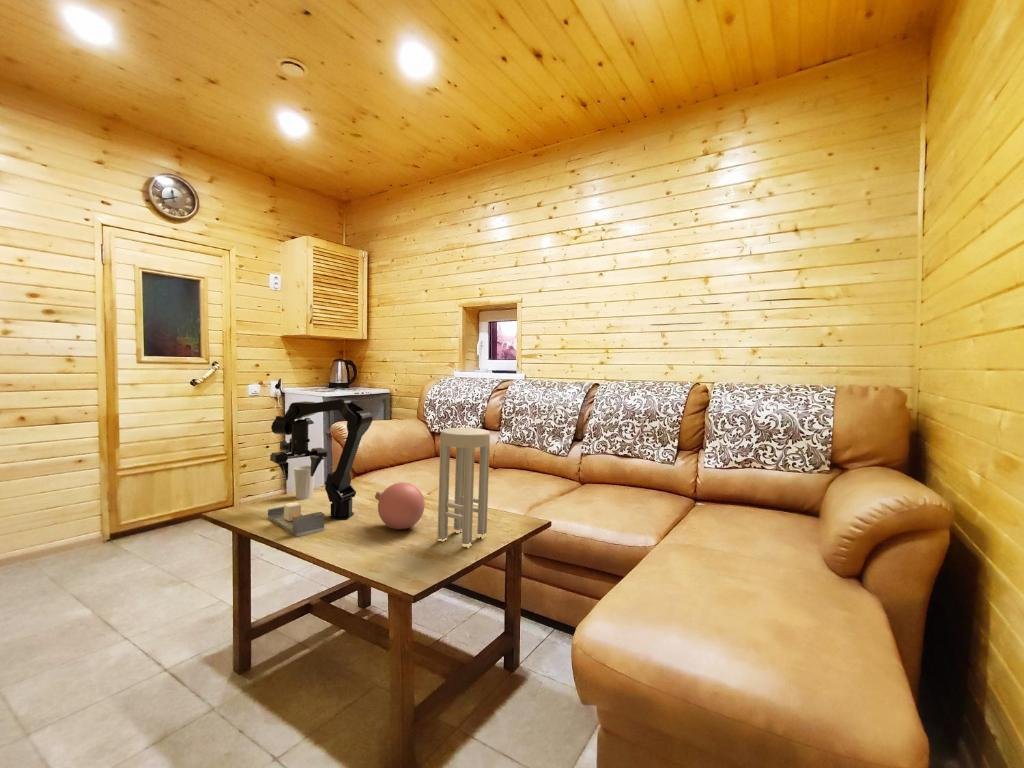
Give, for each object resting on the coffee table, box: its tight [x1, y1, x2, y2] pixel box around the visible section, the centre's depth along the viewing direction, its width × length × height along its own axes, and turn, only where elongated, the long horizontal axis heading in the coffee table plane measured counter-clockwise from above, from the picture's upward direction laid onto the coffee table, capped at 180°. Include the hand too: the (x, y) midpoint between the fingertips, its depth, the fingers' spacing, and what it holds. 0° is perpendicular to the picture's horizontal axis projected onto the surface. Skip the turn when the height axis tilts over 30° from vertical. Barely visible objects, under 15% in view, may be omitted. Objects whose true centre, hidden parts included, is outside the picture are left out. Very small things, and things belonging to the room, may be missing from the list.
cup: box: [293, 465, 316, 501], centre depth 192 cm, size 8×8×12 cm
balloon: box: [374, 481, 426, 530], centre depth 162 cm, size 15×20×15 cm
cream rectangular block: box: [283, 501, 302, 521], centre depth 161 cm, size 9×4×5 cm, turn 47°
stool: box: [437, 427, 491, 544], centre depth 152 cm, size 16×16×35 cm
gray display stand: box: [267, 506, 325, 538], centre depth 161 cm, size 24×9×6 cm, turn 47°
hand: (299, 478), depth 175 cm, fingers open, 9 cm apart
